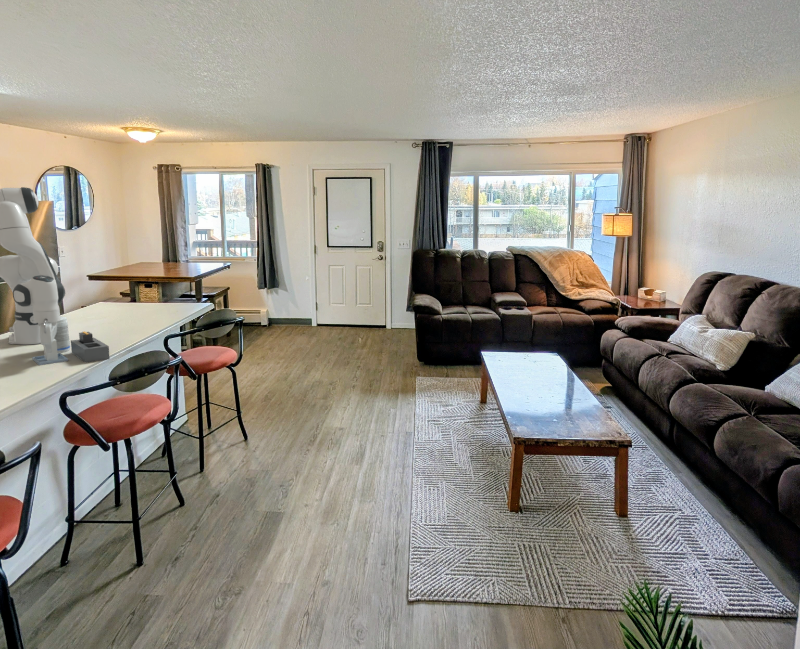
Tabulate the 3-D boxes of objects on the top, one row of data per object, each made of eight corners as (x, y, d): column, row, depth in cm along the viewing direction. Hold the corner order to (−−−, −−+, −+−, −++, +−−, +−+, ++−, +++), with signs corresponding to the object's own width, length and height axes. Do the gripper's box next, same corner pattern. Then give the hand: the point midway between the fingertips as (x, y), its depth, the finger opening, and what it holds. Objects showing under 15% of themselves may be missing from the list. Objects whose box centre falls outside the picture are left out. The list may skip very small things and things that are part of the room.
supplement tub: (73, 348, 235) (71, 316, 232) (65, 354, 226) (62, 320, 223) (49, 349, 233) (46, 316, 230) (39, 354, 224) (36, 320, 221)
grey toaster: (71, 354, 227) (69, 331, 225) (95, 350, 233) (93, 329, 231) (85, 363, 215) (83, 340, 213) (109, 360, 221) (108, 337, 219)
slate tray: (32, 360, 215) (32, 357, 215) (60, 356, 222) (60, 353, 222) (39, 366, 209) (38, 362, 208) (68, 362, 216) (67, 358, 215)
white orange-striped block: (44, 358, 216) (42, 338, 215) (54, 356, 219) (53, 337, 217) (47, 360, 213) (45, 340, 211) (58, 359, 215) (56, 339, 214)
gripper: (53, 321, 205) (57, 356, 208) (58, 311, 222) (61, 343, 225) (34, 322, 202) (37, 357, 205) (40, 312, 219) (43, 344, 222)
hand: (50, 350), depth 215 cm, fingers closed on white orange-striped block, 6 cm apart
